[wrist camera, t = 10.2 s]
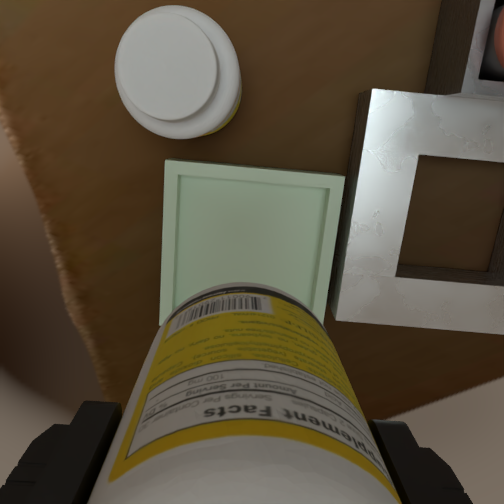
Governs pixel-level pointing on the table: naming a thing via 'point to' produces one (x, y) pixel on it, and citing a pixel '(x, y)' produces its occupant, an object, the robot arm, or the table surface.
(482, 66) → the plunger
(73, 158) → the table surface
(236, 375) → the supplement bottle
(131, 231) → the table surface
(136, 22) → the supplement bottle
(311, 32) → the table surface
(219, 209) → the tray
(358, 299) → the housing
